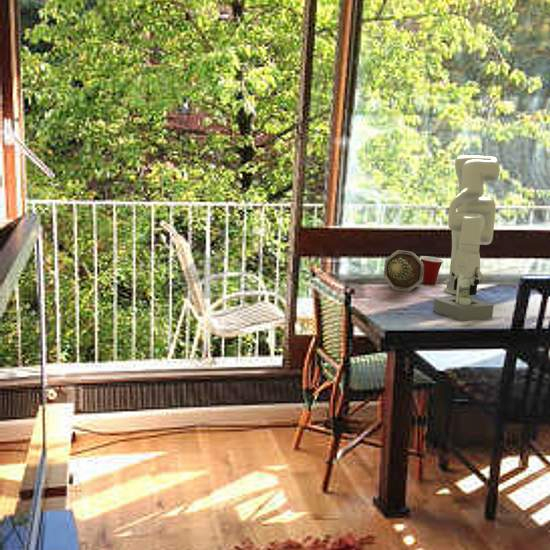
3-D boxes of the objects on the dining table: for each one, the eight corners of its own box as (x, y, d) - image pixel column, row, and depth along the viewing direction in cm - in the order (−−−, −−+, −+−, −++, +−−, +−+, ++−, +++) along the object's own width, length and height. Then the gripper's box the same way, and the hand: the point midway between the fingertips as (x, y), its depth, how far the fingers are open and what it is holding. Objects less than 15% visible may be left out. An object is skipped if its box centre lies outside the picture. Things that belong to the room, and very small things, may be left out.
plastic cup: (443, 286, 349) (446, 260, 346) (419, 285, 349) (422, 259, 346) (439, 281, 359) (441, 256, 357) (416, 280, 360) (418, 255, 357)
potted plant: (392, 250, 351) (378, 244, 323) (431, 256, 345) (421, 250, 317) (385, 288, 351) (371, 285, 323) (424, 295, 345) (413, 292, 317)
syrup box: (469, 308, 303) (472, 272, 300) (471, 311, 297) (475, 275, 294) (454, 307, 304) (457, 271, 301) (456, 310, 298) (460, 274, 295)
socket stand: (433, 311, 303) (434, 298, 302) (462, 307, 312) (464, 295, 311) (462, 321, 290) (463, 308, 289) (492, 317, 298) (493, 304, 297)
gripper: (446, 244, 301) (442, 288, 304) (478, 252, 286) (473, 298, 290) (460, 243, 305) (456, 286, 308) (493, 251, 290) (488, 296, 294)
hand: (464, 292), depth 299 cm, fingers closed on syrup box, 8 cm apart
